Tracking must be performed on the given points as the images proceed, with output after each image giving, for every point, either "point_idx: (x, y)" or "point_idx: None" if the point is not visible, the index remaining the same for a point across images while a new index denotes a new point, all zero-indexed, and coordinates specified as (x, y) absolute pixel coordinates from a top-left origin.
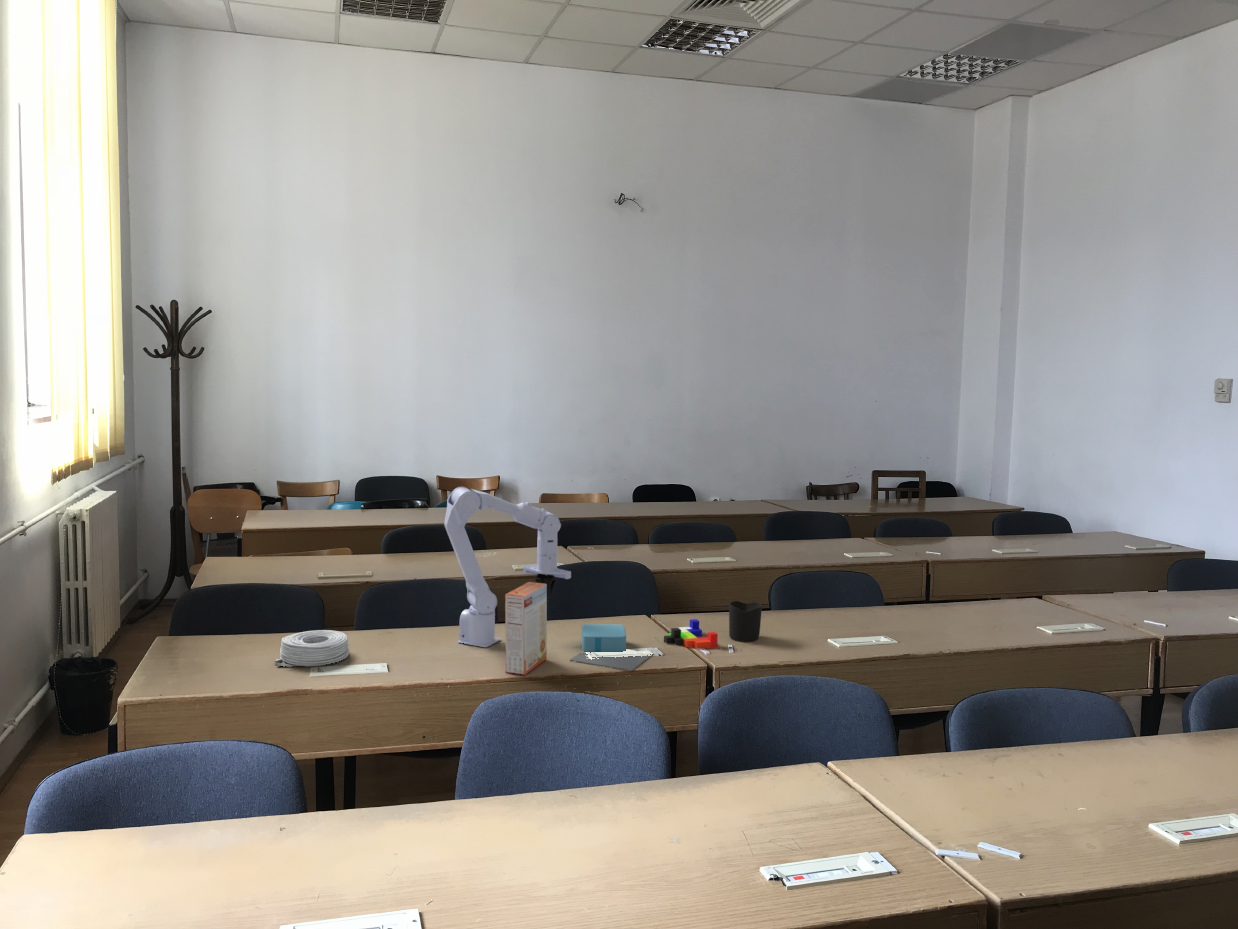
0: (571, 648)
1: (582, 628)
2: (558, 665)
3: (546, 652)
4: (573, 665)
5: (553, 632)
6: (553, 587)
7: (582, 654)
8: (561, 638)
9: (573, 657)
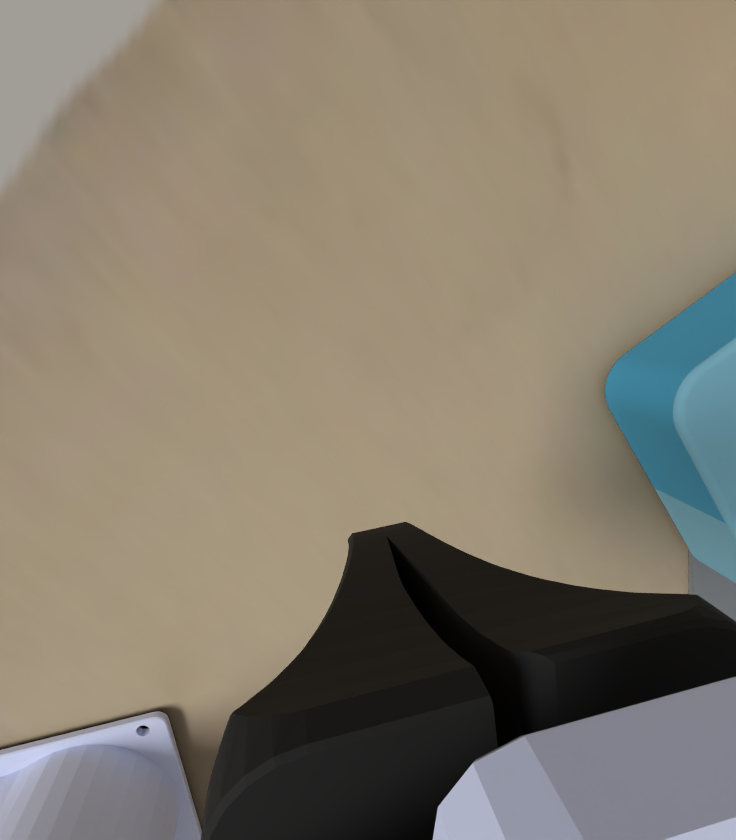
0: (606, 540)
1: (712, 488)
2: None
3: None
4: None
5: (330, 349)
6: (510, 575)
7: (715, 599)
8: (456, 426)
9: None
